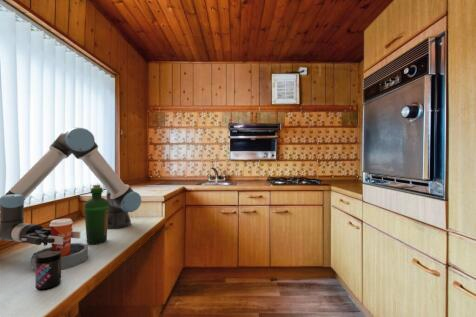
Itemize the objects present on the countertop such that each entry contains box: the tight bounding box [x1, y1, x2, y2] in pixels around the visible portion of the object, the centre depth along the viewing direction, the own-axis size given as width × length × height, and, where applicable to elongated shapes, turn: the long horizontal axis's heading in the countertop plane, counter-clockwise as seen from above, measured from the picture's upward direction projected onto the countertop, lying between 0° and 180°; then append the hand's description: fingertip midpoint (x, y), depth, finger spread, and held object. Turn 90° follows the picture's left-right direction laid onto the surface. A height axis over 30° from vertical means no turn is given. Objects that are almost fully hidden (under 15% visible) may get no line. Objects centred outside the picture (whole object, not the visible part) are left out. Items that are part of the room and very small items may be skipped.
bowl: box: [30, 242, 89, 272], centre depth 99 cm, size 18×18×4 cm
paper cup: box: [48, 218, 74, 257], centre depth 99 cm, size 8×8×14 cm
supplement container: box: [34, 250, 62, 292], centre depth 80 cm, size 7×7×10 cm
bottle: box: [83, 184, 109, 246], centre depth 122 cm, size 11×11×28 cm
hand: (71, 237), depth 97 cm, fingers closed on paper cup, 7 cm apart
